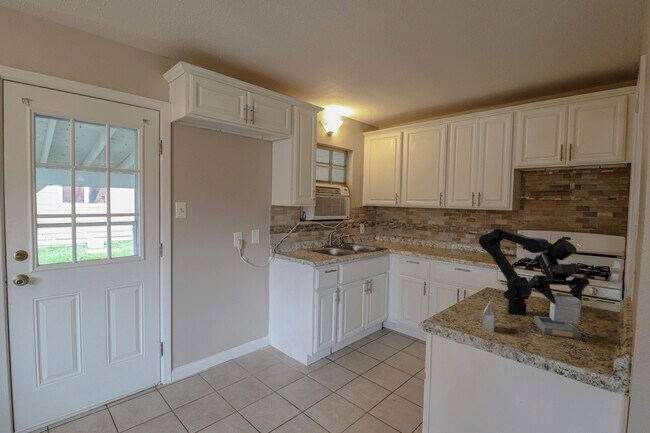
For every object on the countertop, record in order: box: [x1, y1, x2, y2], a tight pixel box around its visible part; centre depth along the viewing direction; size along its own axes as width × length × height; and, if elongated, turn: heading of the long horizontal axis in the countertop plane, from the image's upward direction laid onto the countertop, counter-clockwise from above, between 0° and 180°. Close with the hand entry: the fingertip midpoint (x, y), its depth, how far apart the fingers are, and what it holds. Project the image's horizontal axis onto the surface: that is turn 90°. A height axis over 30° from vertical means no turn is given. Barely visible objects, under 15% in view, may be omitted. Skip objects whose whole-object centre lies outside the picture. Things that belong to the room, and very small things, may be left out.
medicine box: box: [549, 294, 582, 325], centre depth 115 cm, size 8×4×9 cm, turn 71°
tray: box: [533, 315, 582, 340], centre depth 120 cm, size 11×13×2 cm
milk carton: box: [482, 300, 496, 333], centre depth 121 cm, size 4×7×10 cm, turn 149°
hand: (567, 303), depth 113 cm, fingers closed on medicine box, 8 cm apart
